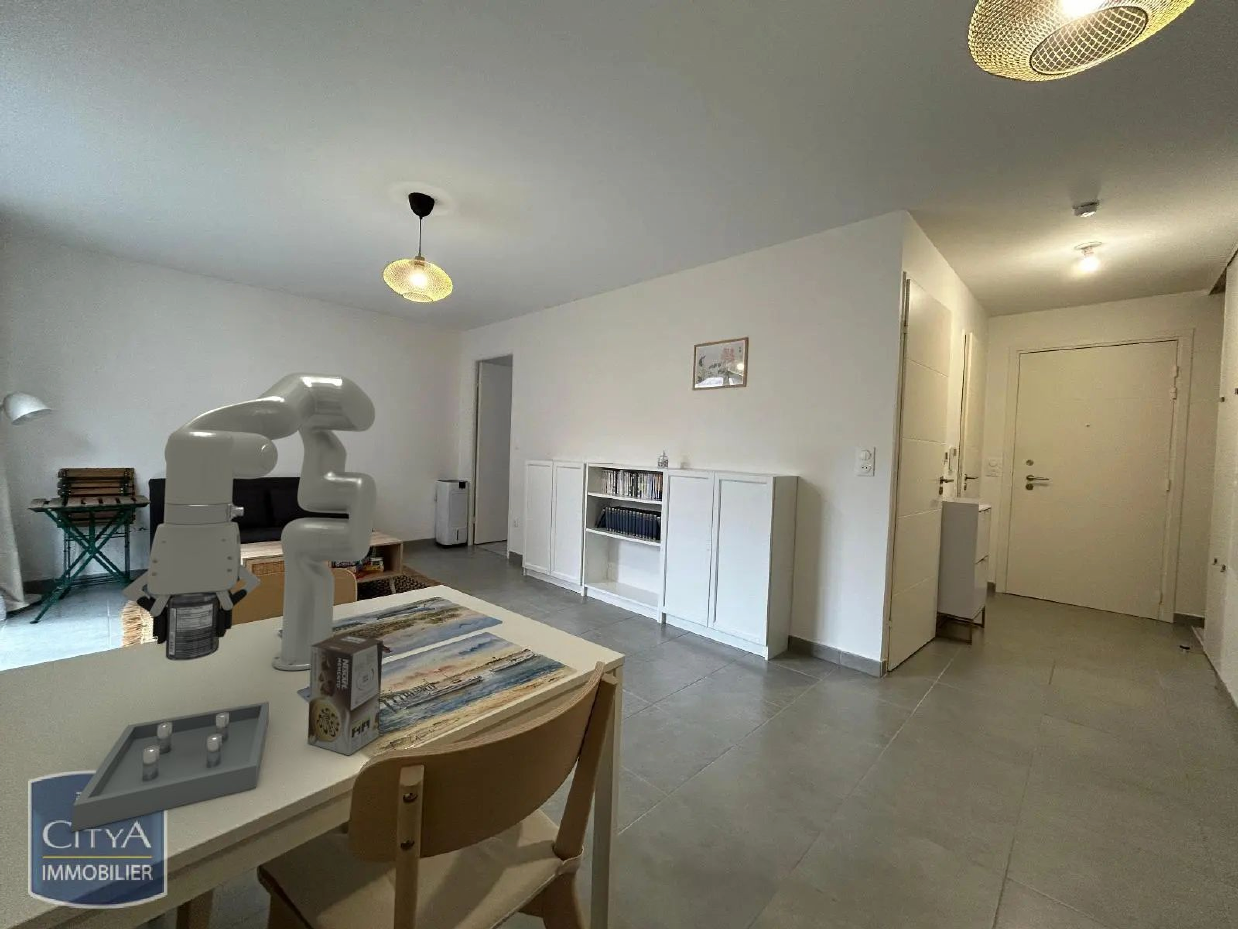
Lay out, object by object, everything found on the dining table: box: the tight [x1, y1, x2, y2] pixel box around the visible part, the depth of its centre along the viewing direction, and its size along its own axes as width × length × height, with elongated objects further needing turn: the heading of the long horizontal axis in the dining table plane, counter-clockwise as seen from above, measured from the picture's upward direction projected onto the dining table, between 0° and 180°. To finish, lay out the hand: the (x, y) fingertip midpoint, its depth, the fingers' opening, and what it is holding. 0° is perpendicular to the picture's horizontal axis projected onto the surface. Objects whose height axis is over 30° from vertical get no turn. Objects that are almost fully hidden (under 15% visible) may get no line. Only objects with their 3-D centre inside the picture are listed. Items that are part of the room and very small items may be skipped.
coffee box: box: [307, 633, 384, 756], centre depth 82 cm, size 9×6×16 cm
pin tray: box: [71, 701, 270, 833], centre depth 73 cm, size 18×20×5 cm
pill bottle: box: [165, 592, 221, 662], centre depth 73 cm, size 6×6×11 cm
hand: (193, 636), depth 73 cm, fingers closed on pill bottle, 6 cm apart
